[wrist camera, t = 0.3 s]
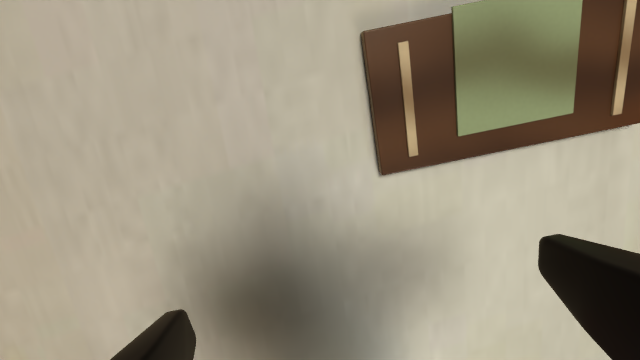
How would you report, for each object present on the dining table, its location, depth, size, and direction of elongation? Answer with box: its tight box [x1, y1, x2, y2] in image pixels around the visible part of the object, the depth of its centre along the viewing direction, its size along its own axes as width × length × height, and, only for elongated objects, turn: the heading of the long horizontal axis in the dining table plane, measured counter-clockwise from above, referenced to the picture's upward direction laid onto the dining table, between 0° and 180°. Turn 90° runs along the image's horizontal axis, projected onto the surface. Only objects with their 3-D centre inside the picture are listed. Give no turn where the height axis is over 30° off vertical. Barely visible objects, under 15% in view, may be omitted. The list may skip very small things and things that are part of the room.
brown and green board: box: [361, 0, 640, 175], centre depth 20 cm, size 9×18×1 cm, turn 101°
